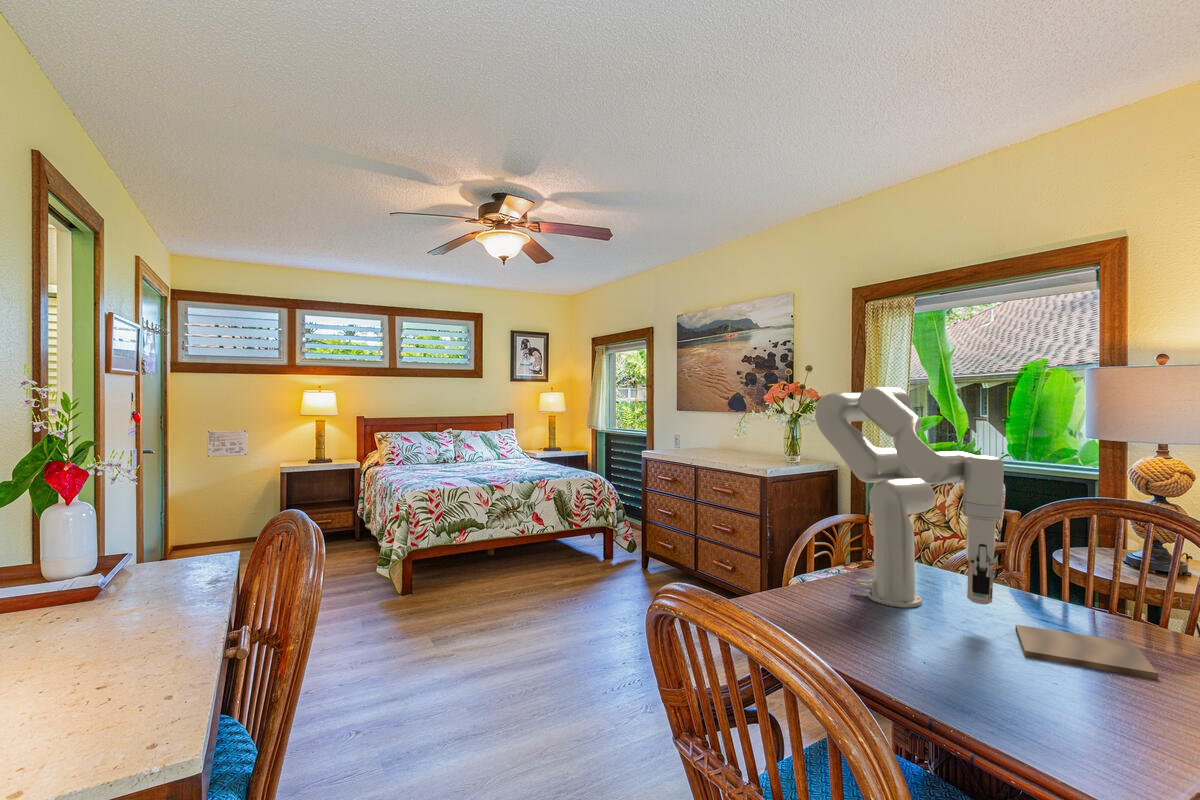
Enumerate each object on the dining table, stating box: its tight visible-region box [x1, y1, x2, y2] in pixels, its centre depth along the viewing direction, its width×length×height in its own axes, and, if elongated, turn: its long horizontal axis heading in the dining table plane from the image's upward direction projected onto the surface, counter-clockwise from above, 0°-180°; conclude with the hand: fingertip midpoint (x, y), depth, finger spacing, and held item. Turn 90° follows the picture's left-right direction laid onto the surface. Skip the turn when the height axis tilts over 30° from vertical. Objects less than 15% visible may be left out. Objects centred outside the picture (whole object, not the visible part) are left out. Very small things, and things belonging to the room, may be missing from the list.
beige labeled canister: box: [966, 558, 995, 605], centre depth 131 cm, size 5×5×12 cm
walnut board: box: [1015, 624, 1159, 680], centre depth 119 cm, size 20×16×1 cm
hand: (979, 588), depth 131 cm, fingers closed on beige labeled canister, 4 cm apart
